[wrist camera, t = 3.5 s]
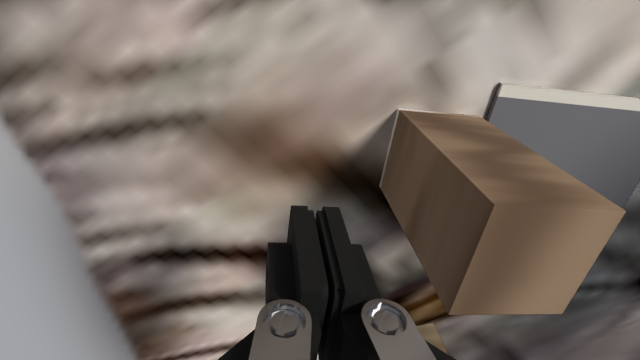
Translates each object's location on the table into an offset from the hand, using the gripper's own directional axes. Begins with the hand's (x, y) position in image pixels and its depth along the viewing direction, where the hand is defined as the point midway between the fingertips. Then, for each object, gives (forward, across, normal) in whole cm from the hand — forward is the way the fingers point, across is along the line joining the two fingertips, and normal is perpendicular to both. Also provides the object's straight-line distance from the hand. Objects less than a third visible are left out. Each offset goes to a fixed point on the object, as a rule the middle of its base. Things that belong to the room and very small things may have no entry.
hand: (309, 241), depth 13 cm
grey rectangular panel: (+9, -17, 0) cm, 19 cm away
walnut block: (+9, -8, 0) cm, 12 cm away
